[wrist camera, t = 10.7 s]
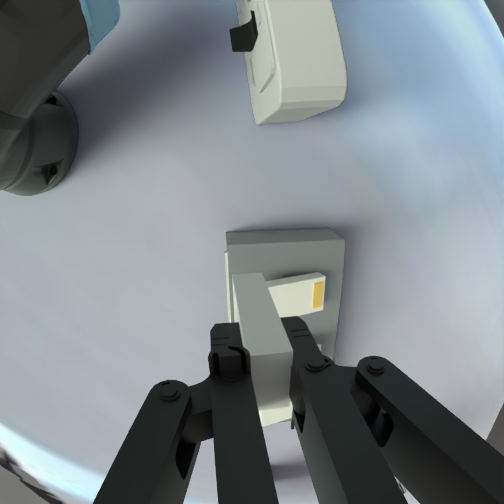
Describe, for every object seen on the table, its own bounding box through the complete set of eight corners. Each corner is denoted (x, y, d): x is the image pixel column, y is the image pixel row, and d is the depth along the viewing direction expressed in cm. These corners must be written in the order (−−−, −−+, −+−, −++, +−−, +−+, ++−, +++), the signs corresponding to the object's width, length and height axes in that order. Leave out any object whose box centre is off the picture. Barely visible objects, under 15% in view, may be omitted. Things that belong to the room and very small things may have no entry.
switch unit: (234, 401, 50) (236, 429, 43) (223, 232, 41) (224, 247, 34) (315, 392, 51) (326, 418, 45) (331, 228, 42) (350, 241, 35)
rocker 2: (256, 317, 36) (262, 324, 34) (256, 282, 34) (262, 289, 33) (316, 304, 38) (323, 310, 37) (318, 271, 37) (326, 276, 35)
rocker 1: (257, 419, 41) (262, 427, 40) (257, 399, 40) (262, 407, 38) (306, 405, 44) (311, 412, 42) (308, 385, 42) (314, 392, 41)
